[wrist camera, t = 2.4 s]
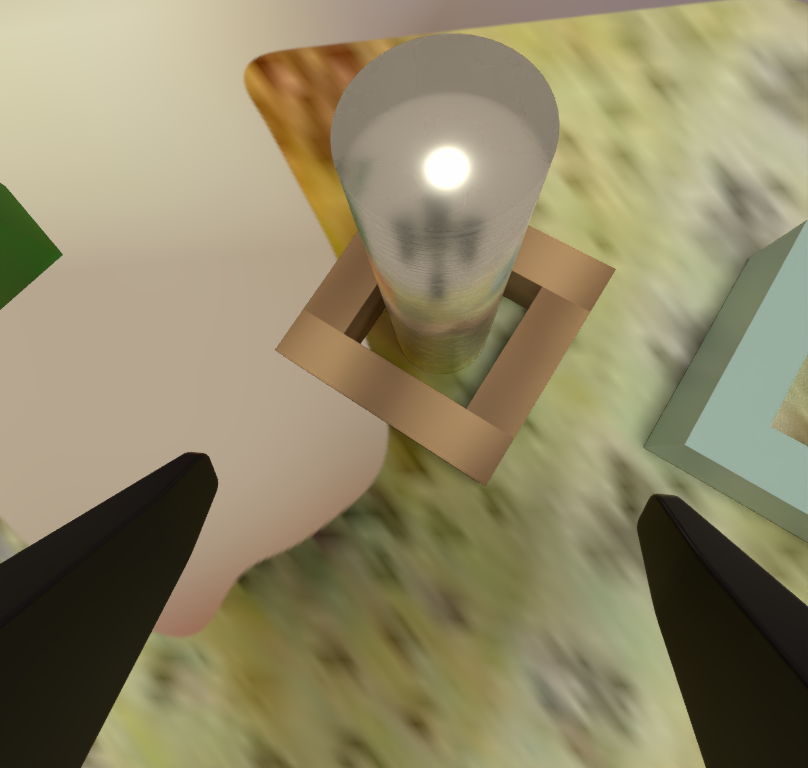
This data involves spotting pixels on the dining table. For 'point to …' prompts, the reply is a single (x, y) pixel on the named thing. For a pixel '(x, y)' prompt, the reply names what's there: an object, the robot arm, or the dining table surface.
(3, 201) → the hardback book
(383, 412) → the brown wooden square frame
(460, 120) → the steel axle
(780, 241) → the grey-teal holder
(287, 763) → the dining table surface
